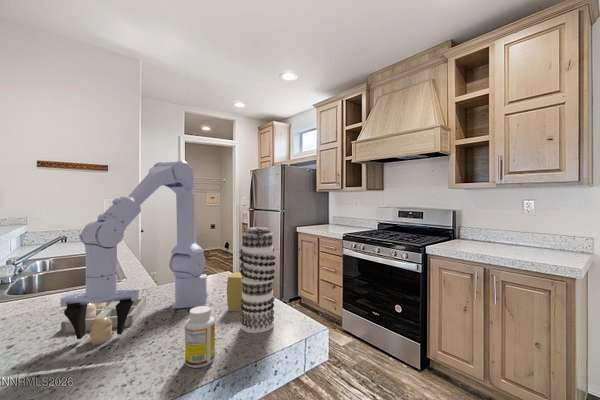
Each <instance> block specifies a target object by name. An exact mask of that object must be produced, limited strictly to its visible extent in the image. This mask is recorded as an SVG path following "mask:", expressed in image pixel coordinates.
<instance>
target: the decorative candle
mask: <svg viewBox="0 0 600 400" xmlns="http://www.w3.org/2000/svg"><path fill="white" fill-rule="evenodd" d="M241 234H242V245H241V249H240V250H239V254H240V256H239V260H240V262H241V263H240V265H239V267H240V271H239V272H240V273H241V275H242V277H241V281H242V282H243V291H242V299H241V303H242V305H241V309H242V311H240V317H241V318H240V323H241V324H240V328H241V330H242V331H243V332H246V333H251V334H260V333H265V332H268V331H271V329H273V328H274V327H275V325H274V324H275V322H274V321H275V320H274V319H275V316H274V315H275V310H274V306H275V303H274V301H275V297H274V289H273V281H275V276H274V275H273V274H275V272H276V270H275V269H273V267H274V266H276V262H275V261H274V260H275V259H276V256H275V255H273V252H274V251H275V248H274V244H273V235H275V234H274V233H273V232H272V231H271V229H270V228H269V227H265V226H263V227H262V226H253V227H252V226H251V227H247V228H246V229H245V231H244V233H241Z"/></svg>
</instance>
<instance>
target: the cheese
mask: <svg viewBox="0 0 600 400" xmlns="http://www.w3.org/2000/svg"><path fill="white" fill-rule="evenodd" d="M241 277H242V275H241V273H240V271H237V272H236V271H235V272H232V273H230V274H229V275H228V277H227V281H226V282H227V283H226V299H227V301H226V302H227V310H228V312H241V311H242V309H241V305H242V303H241V299H242V291H243V282H242V281H241Z"/></svg>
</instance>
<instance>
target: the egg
mask: <svg viewBox="0 0 600 400" xmlns="http://www.w3.org/2000/svg"><path fill="white" fill-rule="evenodd" d="M112 336H113V328H112V321H111V319H110V318H108V317H105V316H102V317H99V318H97V319H95V320H94V321H93V322H92V324H91V326H90V330H89V344H90V345H102V344H105V343H107V342H108V341H110V340H111V339H112V338H113V337H112Z"/></svg>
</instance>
